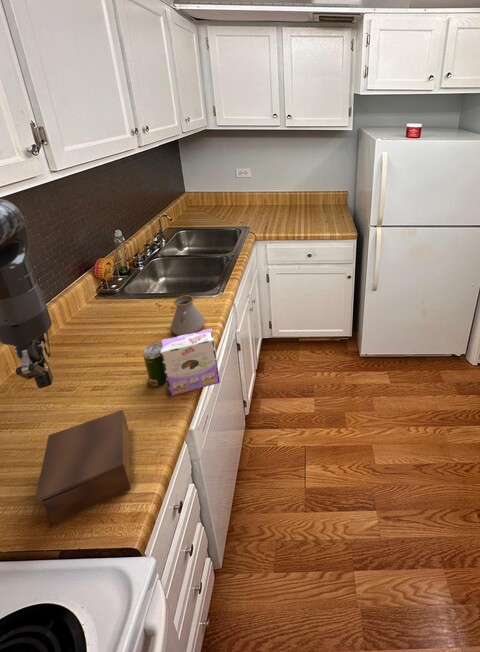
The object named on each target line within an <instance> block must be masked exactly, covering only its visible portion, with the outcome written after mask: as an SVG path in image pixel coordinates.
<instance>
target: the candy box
mask: <svg viewBox="0 0 480 652" xmlns="http://www.w3.org/2000/svg"><path fill="white" fill-rule="evenodd" d="M214 339H215V338H214V333H213V329H212V328H208V329H204V330H200V331H199V332H195V333H190V334H186V335H181V336H178V335H176V336H173V337H168V338H164V339H163V338H162V339H161V343H160V344H161V357H162V362H163V366H164V371H165V375H166V380H167V382H166V384H167V388H168V394H169V396H170V397H171V396H175V395H176V396H177V395H180V394H184V393H187V392H191V391H195V390H199V389H203V388H206V387H209V386H214V385H218V384H220V381H221V380H220V373H219V366H218V365H219V364H218V359H217V350H216V344H215V340H214Z"/></svg>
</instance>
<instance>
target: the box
mask: <svg viewBox="0 0 480 652" xmlns="http://www.w3.org/2000/svg"><path fill="white" fill-rule="evenodd" d="M130 433H131V432H130V430H129V425H128V422H127V418H126V415H125V414H124V467H122V468H120V469H117V470H115V471H112V472H110V473H107V474H105V475H103V476H100V477H98V478H95V479H93V480H90V481H88V482H86V483H83V484H81V485H78V486H76V487H73V488H71V489H69V490H66V491H64V492H61V493H59V494H57V495H54V496H52V497H49V498H47V499H44V500H42V501H41V503H42V505H43V507H44V509H45V511H46V514H47V515H48V517H49V520H50V522H51V524H52V526H54V525H56V524H59V523H60V522H63V521H64V520H67V519H69V518H71V517H74V516H75V515H78V514H80V513H82V512H84V511H86V510H88V509H90V508H93V507H96V506H97V505H99V504H102V503H104V502H106V501H109V500H110V499H112V498H115V497H116V496H119V495H121V494H123V493H125V492H127V491H130V490H131V489H132V475H131V474H132V468H131V434H130Z"/></svg>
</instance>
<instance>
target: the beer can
mask: <svg viewBox="0 0 480 652" xmlns="http://www.w3.org/2000/svg"><path fill="white" fill-rule="evenodd" d="M143 360H144V364H145V365H144V366H145V368H146V373H147V378H148V381H149V384H150V386H151V387H153V388H154V387H155V388H156V387H162V386H163V385H166V384H167V380H166V375H165V371H164V366H163V362H162V357H161V343H152V344H149V345H147V346H145V348H144V350H143Z"/></svg>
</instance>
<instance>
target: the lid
mask: <svg viewBox="0 0 480 652" xmlns="http://www.w3.org/2000/svg"><path fill="white" fill-rule="evenodd" d="M124 415H125V410H124V409H121V410H117V411H115V412H112V413H109V414H106V415H103V416H100V417H97V418H94V419H92V420H89V421H86V422H83V423H80V424H77V425H74V426H71V427H68V428H65V429H63V430H60V431H57V432H54V433H51V434H48V437H47V442H46V447H45V452H44V456H43V461H42V465H41V470H40V474H39V479H38V483H37V489H36V492H35V497H34V502H35V504H37V503H40V502H42V501H43V500H44V499H47V498H49V497H52V496H54V495H57V494H59V493H61V492H64V491H66V490H69V489H71V488H73V487H76V486H78V485H81V484H83V483H86V482H88V481H90V480H93V479H95V478H98V477H100V476H103V475H105V474H107V473H110V472H112V471H115V470H117V469H120V468H122V467H124Z"/></svg>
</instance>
